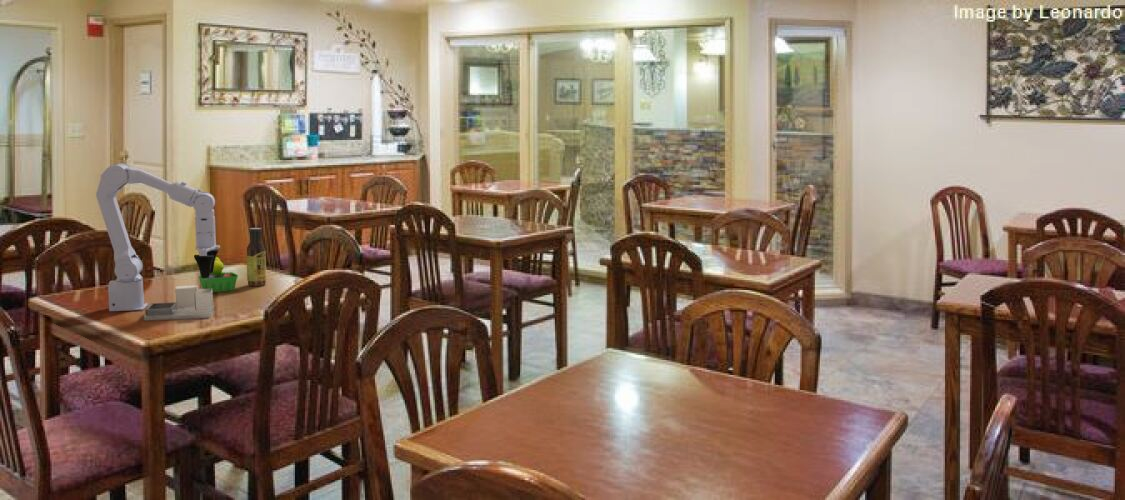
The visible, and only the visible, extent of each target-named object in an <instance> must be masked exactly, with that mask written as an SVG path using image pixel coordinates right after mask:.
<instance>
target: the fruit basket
mask: <svg viewBox="0 0 1125 500" xmlns="http://www.w3.org/2000/svg"><path fill="white" fill-rule="evenodd" d="M224 268H225V266H224V263H223V262H222V261H221V259H220V258H219V257H217V256H216V258H215V263H214V269H213V273H210V276H209V278H202V277H201V274H200V275H197V278H198V280H199V282H200V284H201V285H200V286H201V289H213V293H218V292H228V291H235V289H236V284H237V279H238V276H239V274H236V273H235V272H231V271H228V272H224V271H223V270H224Z"/></svg>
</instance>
